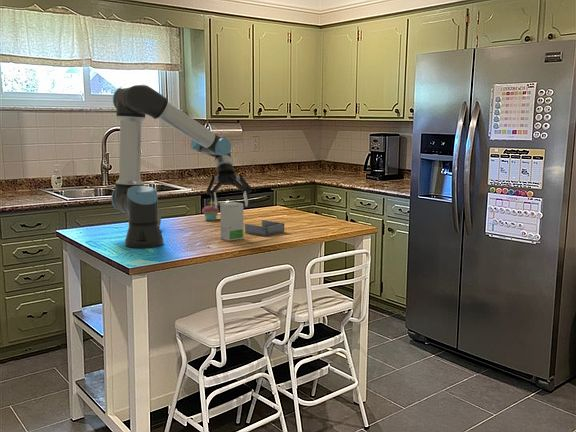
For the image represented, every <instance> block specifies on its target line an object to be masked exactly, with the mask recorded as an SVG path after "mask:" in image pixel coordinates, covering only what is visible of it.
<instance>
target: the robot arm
mask: <svg viewBox="0 0 576 432" xmlns="http://www.w3.org/2000/svg"><path fill="white" fill-rule="evenodd" d="M112 103H113V105H114V108H115V109H116V110H115V111H116V114H115V115H116V117H115V118H117V119H118V121H119V167H118V168H119V173H118V175H119V176H118V179H117V180H116V181H115V187H114V190H113V191H112V193H111V197H110V199H111V204H112V207H114V209H116V210H117V212H119V213H121V214H124V215H127V216H128V229H127V231H126V237H125V240H124V242H125V245H124V246H126V247H128V248H133V249H146V248H147V249H148V248H155V247H160V246H162V245H163V244H164V237H163V235H162V232H161V229H160V228H159V226H158V213H159V209H158V207H159V205H158V199H159V198H158V193H157V192H158V191H157V190H156V188H154V187H151V186H149V185H147V186H146V185H145V183H144V181H143V180H141V179H142V178H141V160H142V159H141V158H142V157H141V156H142V123H143V122H144V120H145V119H146V115H147V116H148V117H149V116H150V117H151V118H153V119H154V120H161V121H162V122H164V123H165V124H167V125H168V126H170V127H171V128H174V129H175V130H176V131H178V132H179V133H181V134H183V135H184V136H186V137H188V138H189V139H191V140H190V147H191V149H192V150H193V151H196V152H197V153H202V154H204V155H206V156H207V155H208V156H210V157H213V158H214V161H215V166H216V171H217V175H215V174H212V175H211V180H210V183H209V184H208V186H207V188H206V195H207V196H209V195H210V201H211V200H212V202H213V203H214V206H215V208H218V199H217V191H218V190H219V189H220V188H221V187H222V186H233V187H236V188H237V189H238V190H239V191H241V193H243V200H244V206H245V207H248V205H249V199H250V193H252V189H253V188H252V187H251V186H250V184H249V183H248V182H247V181H246V179H244V177H243V174H242V173H239V175H236V174H235V170H234V169H235V167H234V164H233V158H232V152H231V150H232V143H231V140H229V139H228V138H225V137H221V136H220V135H218V134H217V133H214V132H213V131H211V129H210V128H207V127H206V126H204V125H203V124H201V123H200V122H198V121H197V120H195V119H194V118H192V117H191V116H189V115H188V114H186V113H185V112H183V111H182V110H180V109H179V108H177V107H176V106H174V105H173V104H172V103H170V102H169V99H168V98H167V97H165V96H164V95H163V94H160V93H159V92H158V91H157V90H154V89H153V88H152V87H150V86H149V85H147V84H144V83H129V84H127V83H126V84H123V85H121V86H119V87H118V88H116V89H115V91H114V93H113V95H112ZM216 181H218V182H217V183H216V185H215V186H214V184H215V182H216ZM213 186H214V187H213Z"/></svg>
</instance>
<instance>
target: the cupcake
mask: <svg viewBox="0 0 576 432" xmlns="http://www.w3.org/2000/svg"><path fill="white" fill-rule="evenodd" d="M219 210H220V209H219V208H218V207H217V208H215V205H213V201H212V200H211V199H210V205H206V206H204V207H203V208H202V210H201V213H202V214H203V215H204V217H205V220H206V221H216V219H217V216H218V215H219V213H220V211H219Z"/></svg>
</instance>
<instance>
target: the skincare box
mask: <svg viewBox="0 0 576 432" xmlns="http://www.w3.org/2000/svg"><path fill="white" fill-rule="evenodd" d="M219 205H220V206H219V207H220V209H219V210H220V211H219V213H220V215H219V217H220V218H219V219H220V220H219V221H220V240H224V241H228V242H230V241H236V240H237V241H238V239H239V240H244V203H242V202H236V201H233V202H220V203H219Z"/></svg>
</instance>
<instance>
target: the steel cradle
mask: <svg viewBox="0 0 576 432" xmlns="http://www.w3.org/2000/svg"><path fill="white" fill-rule="evenodd" d="M284 232H285V223H284V222H279V221H278V222H277V221H272V220H265V219H262V220H261V225H257V224H256V225H255V224H249V223H245V224H244V233H245V234H249V235H256V236H262V237H270V236H273V235H277V234H281V233H284Z"/></svg>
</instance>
